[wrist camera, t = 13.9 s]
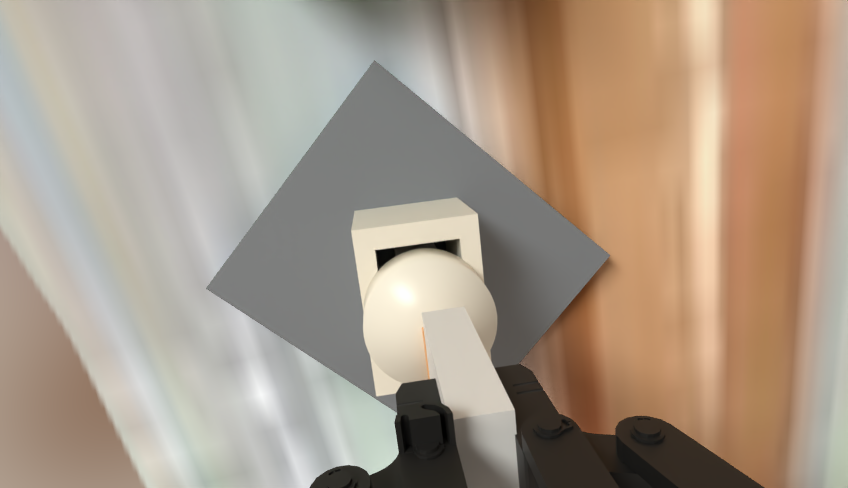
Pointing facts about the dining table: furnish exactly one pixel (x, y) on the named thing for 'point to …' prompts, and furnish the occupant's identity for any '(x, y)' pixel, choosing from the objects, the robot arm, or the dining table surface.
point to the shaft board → (388, 175)
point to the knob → (417, 283)
